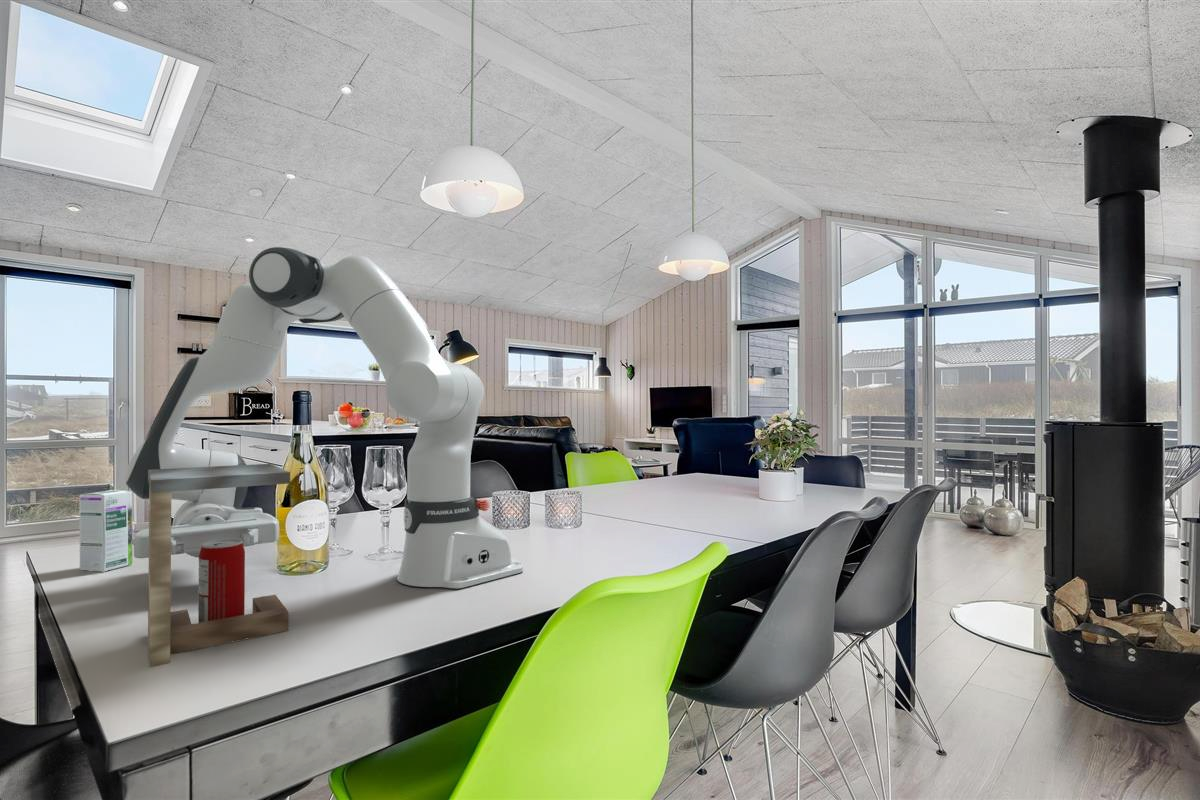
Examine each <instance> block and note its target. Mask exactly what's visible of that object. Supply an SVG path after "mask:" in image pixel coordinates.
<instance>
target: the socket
mask: <svg viewBox="0 0 1200 800" xmlns="http://www.w3.org/2000/svg"><path fill="white" fill-rule="evenodd" d="M288 630H289V631H290V611H289V610H288V609H287V608H286V606H285V605H284V604H283V603H282V601H281V600H280V599H279V597H278V596H277V594H270V595H265V596H264V595H263V596H258V597H253V598H252V612H251V613H247V614H244V615H241V616H235V617H229V618H224V619H218V620H213V621H207V622H201V623H198V622H196V623H192V622H191V617H190V614H189V610H188V608H186V609H179V610H173V611H171V614H170V655H173V654H177V653H182V652H183V653H184V652H187V651H193V650H197V649H198V650H199V649H203V648H208V647H209V648H210V647H214V646H218V645H223V644H228V642H229V643H233V642H232V641H234V642H238V641H237V640H239V641H243V639H244V640H247V639H246V638H249V639H253V638H252V637H254V638H258V637H257V636H259V637H262V636H263V635H264V636H268V635H267V634H269V635H273V634H272V633H274V634H277V633H276V632H279V633H283V632H282V631H284V632H289V631H288ZM264 636H263V637H264Z"/></svg>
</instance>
